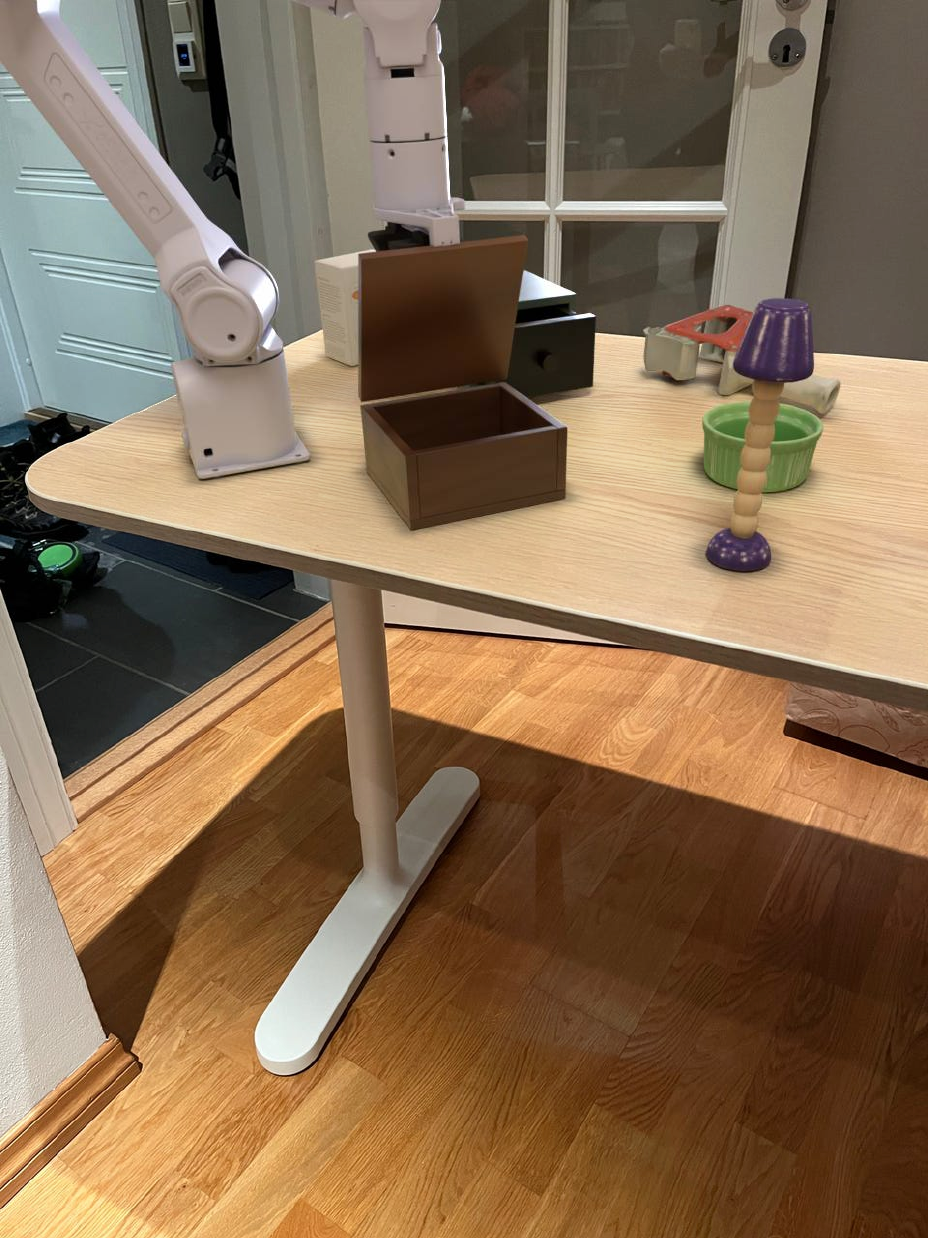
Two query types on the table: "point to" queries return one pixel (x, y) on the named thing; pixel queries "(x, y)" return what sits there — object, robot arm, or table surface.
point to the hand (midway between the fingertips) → (421, 326)
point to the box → (464, 453)
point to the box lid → (437, 316)
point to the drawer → (551, 351)
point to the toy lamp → (762, 420)
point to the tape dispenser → (722, 355)
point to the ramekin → (787, 448)
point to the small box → (339, 305)
